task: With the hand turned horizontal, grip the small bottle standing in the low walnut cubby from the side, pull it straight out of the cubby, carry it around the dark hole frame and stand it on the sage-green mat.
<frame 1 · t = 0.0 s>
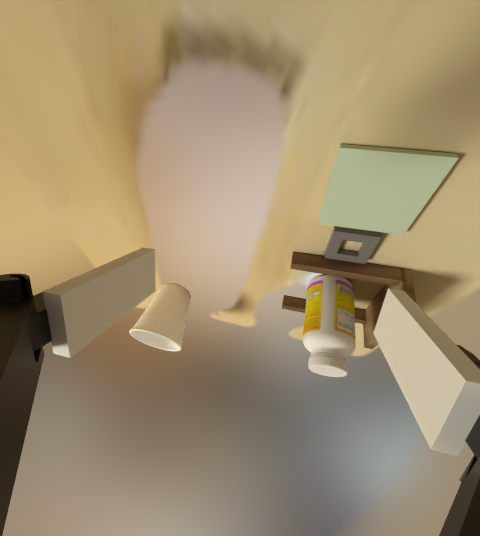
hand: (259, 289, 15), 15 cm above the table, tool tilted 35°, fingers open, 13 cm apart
supplement bottle: (330, 284, 39), on the table
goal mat: (375, 192, 25), on the table
hole frame: (350, 243, 31), on the table
cubby: (330, 285, 39), on the table
cup: (177, 289, 53), on the table
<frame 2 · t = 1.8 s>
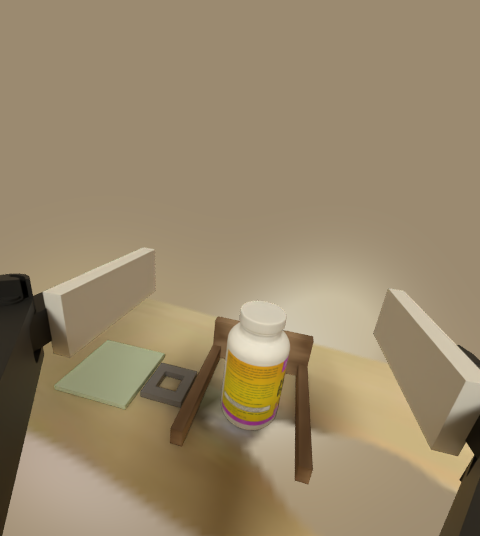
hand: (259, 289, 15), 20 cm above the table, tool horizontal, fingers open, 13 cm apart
supplement bottle: (248, 407, 30), on the table
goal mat: (115, 371, 33), on the table
hole frame: (170, 385, 32), on the table
cubby: (248, 406, 30), on the table
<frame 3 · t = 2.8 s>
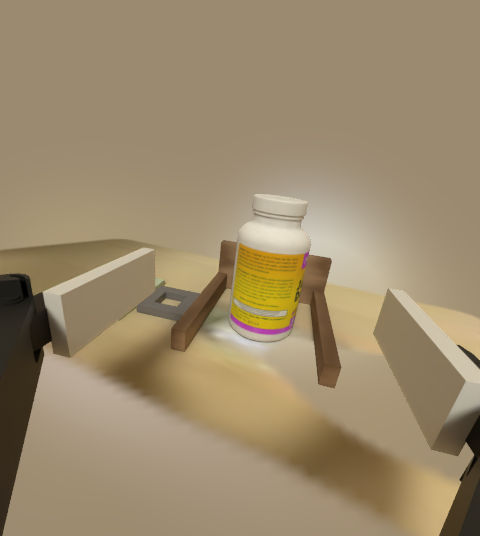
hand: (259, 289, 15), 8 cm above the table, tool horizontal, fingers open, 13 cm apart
supplement bottle: (259, 326, 27), on the table
hole frame: (170, 305, 28), on the table
cubby: (259, 324, 27), on the table
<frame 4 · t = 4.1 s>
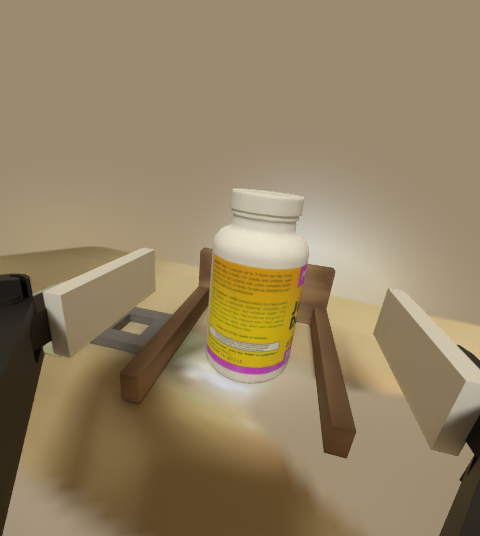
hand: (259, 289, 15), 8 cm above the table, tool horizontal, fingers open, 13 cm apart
supplement bottle: (245, 357, 21), on the table
hole frame: (135, 331, 22), on the table
cubby: (246, 355, 21), on the table
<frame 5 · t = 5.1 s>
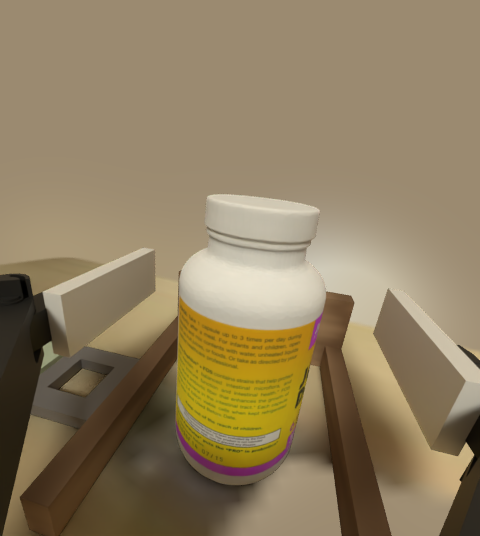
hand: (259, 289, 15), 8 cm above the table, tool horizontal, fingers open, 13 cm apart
supplement bottle: (233, 428, 15), on the table
hole frame: (84, 386, 17), on the table
cubby: (233, 426, 15), on the table
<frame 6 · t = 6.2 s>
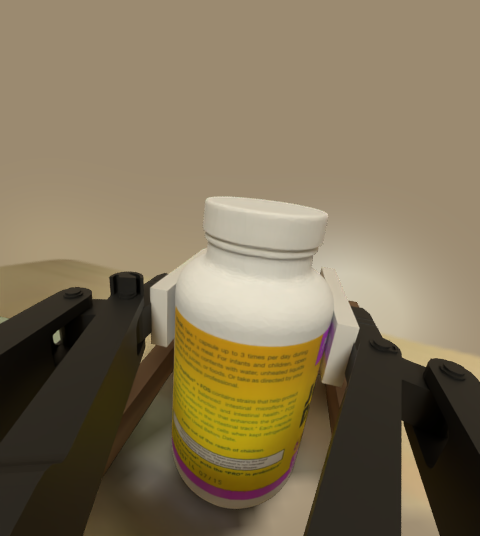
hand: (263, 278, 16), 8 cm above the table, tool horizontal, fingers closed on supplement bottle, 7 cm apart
supplement bottle: (233, 443, 14), on the table, touching gripper
cubby: (233, 441, 14), on the table
when the fingers open (9 cm above the table, at t = 14.7 s): supplement bottle drops 1 cm, resting on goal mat.
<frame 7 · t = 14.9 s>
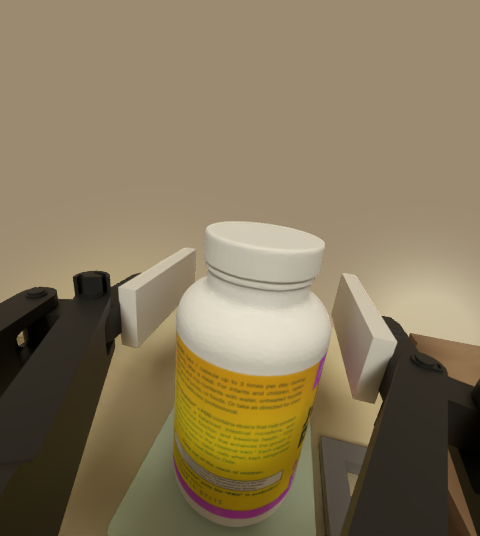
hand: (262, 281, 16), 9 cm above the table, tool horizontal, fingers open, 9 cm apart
supplement bottle: (233, 459, 15), resting on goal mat
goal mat: (231, 461, 15), on the table
hole frame: (370, 502, 14), on the table
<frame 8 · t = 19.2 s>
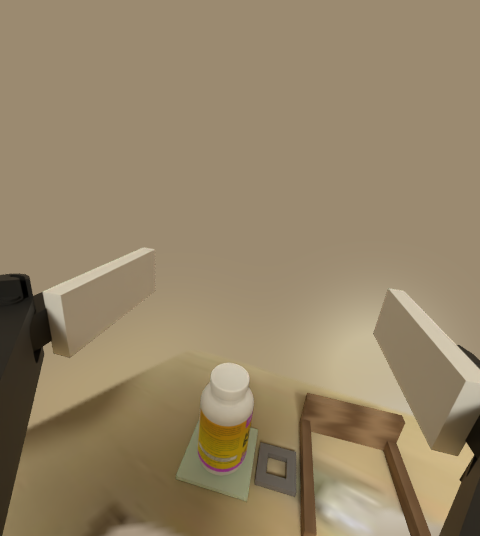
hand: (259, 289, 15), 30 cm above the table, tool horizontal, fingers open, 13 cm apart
supplement bottle: (221, 452, 35), resting on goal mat
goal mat: (220, 453, 35), on the table
hole frame: (276, 469, 34), on the table
cubby: (354, 492, 32), on the table
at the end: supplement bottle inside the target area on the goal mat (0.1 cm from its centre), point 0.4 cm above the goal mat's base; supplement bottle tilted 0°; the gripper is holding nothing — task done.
